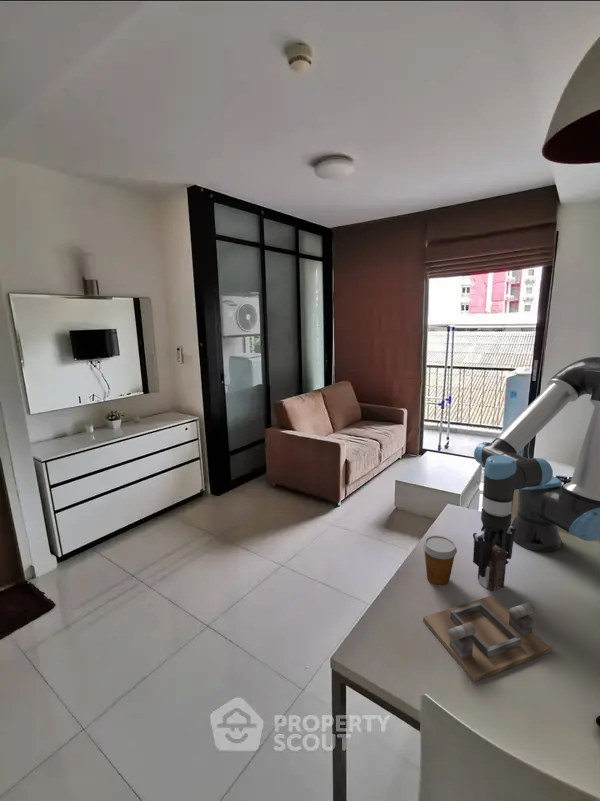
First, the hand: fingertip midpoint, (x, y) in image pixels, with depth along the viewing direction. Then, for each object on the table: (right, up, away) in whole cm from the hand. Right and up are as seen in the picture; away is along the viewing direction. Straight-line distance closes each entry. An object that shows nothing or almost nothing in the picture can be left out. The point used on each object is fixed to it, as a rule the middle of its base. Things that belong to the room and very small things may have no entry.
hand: (490, 582), depth 111 cm
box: (0, -1, 0) cm, 0 cm away
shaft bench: (-11, -5, -18) cm, 21 cm away
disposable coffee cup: (-14, 0, +3) cm, 15 cm away
